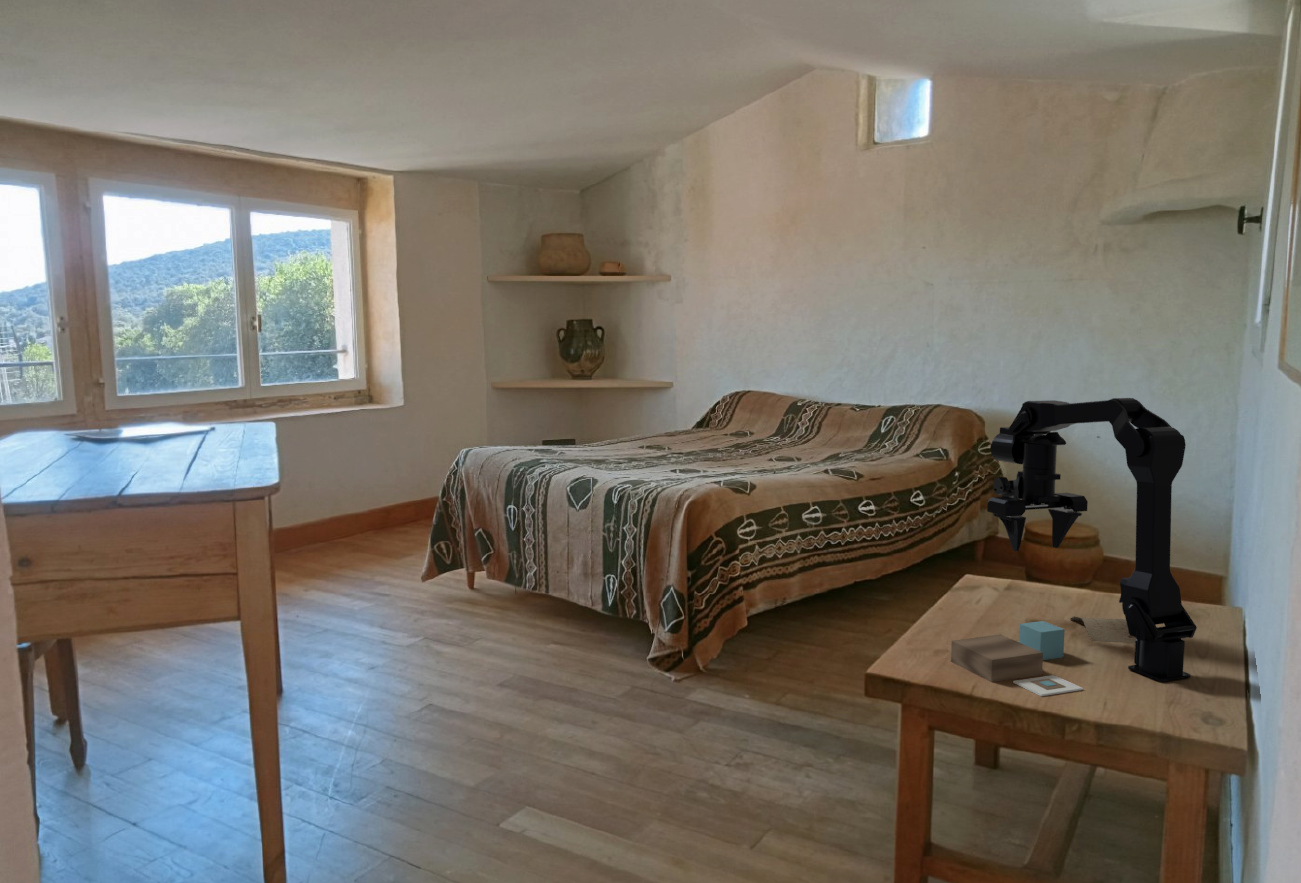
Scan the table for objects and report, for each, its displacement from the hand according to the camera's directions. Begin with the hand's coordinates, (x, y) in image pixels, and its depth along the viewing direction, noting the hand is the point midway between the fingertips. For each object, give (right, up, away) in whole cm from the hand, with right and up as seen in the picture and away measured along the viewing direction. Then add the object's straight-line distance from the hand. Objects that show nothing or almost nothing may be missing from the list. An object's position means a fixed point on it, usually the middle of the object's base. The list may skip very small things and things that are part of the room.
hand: (1035, 549), depth 173 cm
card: (-11, -18, -30) cm, 37 cm away
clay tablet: (+12, -16, -3) cm, 20 cm away
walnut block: (-16, -17, -22) cm, 32 cm away
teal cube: (-6, -16, -15) cm, 23 cm away
